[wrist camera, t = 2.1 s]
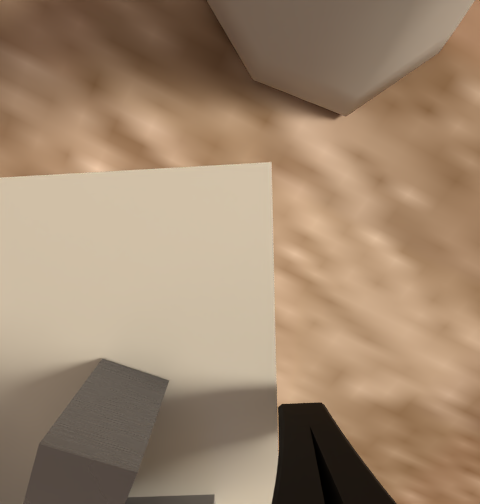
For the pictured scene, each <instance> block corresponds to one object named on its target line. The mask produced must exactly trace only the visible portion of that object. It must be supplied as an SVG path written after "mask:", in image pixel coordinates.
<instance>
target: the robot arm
mask: <svg viewBox="0 0 480 504" xmlns="http://www.w3.org/2000/svg"><path fill="white" fill-rule="evenodd" d="M278 413H279V456H278V465H277V474H276V481H275V487H274V493H273V498H272V504H396V502H395V501H394V500H393V499H392V498H391V496H390V495H389V494H388V493H387V491H386V490H385V489H384V488H383V486H382V485H381V484H380V483H379V481H378V480H377V479H376V478H375V476H374V475H373V474H372V472H371V471H370V470H369V468H368V467H367V466H366V464H365V463H364V462H363V461H362V459H361V458H360V457H359V455H358V454H357V452H356V451H355V450H354V448H353V447H352V446H351V444H350V443H349V441H348V440H347V439H346V437H345V436H344V434H343V433H342V431H341V430H340V428H339V427H338V425H337V424H336V422H335V421H334V419H333V418H332V416H331V415H330V413H329V412H328V410H327V408H326V407H325V405H324V404H322V403H298V404H282V405H280V406H279V407H278Z"/></svg>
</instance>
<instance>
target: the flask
mask: <svg viewBox="0 0 480 504" xmlns="http://www.w3.org/2000/svg"><path fill="white" fill-rule="evenodd" d="M474 1H475V0H207V2H208V4H209V5H210V7H211V9H212V10H213V12H214V14H215V16H216V17H217V19H218V21H219V22H220V24H221V26H222V28H223V29H224V31H225V33H226V34H227V36H228V38H229V40H230V41H231V43H232V45H233V46H234V48H235V50H236V52H237V53H238V55H239V57H240V58H241V60H242V62H243V64H244V65H245V67H246V69H247V70H248V72H249V74H250V76H251V77H252V79H253V80H255V81H257V82H260V83H262V84H265V85H267V86H270V87H272V88H275V89H277V90H280V91H283V92H285V93H288V94H290V95H293V96H295V97H298V98H300V99H303V100H305V101H308V102H310V103H313V104H315V105H318V106H320V107H323V108H326V109H328V110H331V111H333V112H336V113H338V114H341V115H343V116H347V115H349V114H350V113H352V112H353V111H355V110H356V109H357V108H359V107H360V106H362V105H363V104H365V103H366V102H368V101H369V100H371V99H372V98H373V97H375V96H376V95H378V94H379V93H381V92H382V91H384V90H385V89H387V88H388V87H390V86H391V85H392V84H394V83H395V82H397V81H398V80H400V79H401V78H403V77H404V76H406V75H407V74H408V73H410V72H411V71H413V70H414V69H416V68H417V67H419V66H420V65H422V64H423V63H425V62H426V61H427V60H429V59H430V58H432V57H433V56H435V55H436V54H438V53H439V52H440V50H441V49H442V48H443V46H444V45H445V43H446V42H447V41H448V39H449V38H450V36H451V35H452V34H453V32H454V31H455V29H456V28H457V26H458V25H459V23H460V22H461V20H462V19H463V17H464V16H465V14H466V13H467V11H468V10H469V8H470V7H471V5H472V4H473V2H474Z"/></svg>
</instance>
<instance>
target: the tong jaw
mask: <svg viewBox="0 0 480 504" xmlns="http://www.w3.org/2000/svg"><path fill="white" fill-rule="evenodd" d="M168 383H169V380H166V379H163V378H160V377H157V376H154V375H151V374H148V373H145V372H142V371H139V370H136V369H133V368H130V367H127V366H124V365H121V364H118V363H115V362H111V361H108V360H105V359H102V360H101V361H100V362H99V364H98V365H97V366H96V368H95V369H94V370H93V372H92V373H91V374H90V376H89V377H88V378H87V380H86V381H85V383H84V384H83V385H82V387H81V388H80V389H79V391H78V392H77V393H76V395H75V396H74V397H73V399H72V400H71V401H70V403H69V404H68V405H67V407H66V408H65V409H64V411H63V412H62V413H61V415H60V416H59V417H58V419H57V420H56V422H55V423H54V424H53V426H52V427H51V428H50V430H49V431H48V432H47V434H46V435H45V436H44V438H43V439H42V440H41V442H40V443H39V446H38V449H37V453H36V457H35V461H34V465H33V468H32V472H31V476H30V480H29V483H28V487H27V491H26V495H25V499H24V502H23V504H125V502H126V500H127V498H128V495H129V493H130V490H131V488H132V485H133V483H134V480H135V478H136V475H137V473H138V470H139V467H140V464H141V461H142V458H143V455H144V453H145V450H146V447H147V444H148V441H149V438H150V435H151V432H152V429H153V426H154V423H155V421H156V418H157V415H158V412H159V409H160V406H161V403H162V400H163V397H164V394H165V392H166V389H167V386H168Z"/></svg>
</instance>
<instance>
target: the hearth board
mask: <svg viewBox="0 0 480 504" xmlns="http://www.w3.org/2000/svg"><path fill="white" fill-rule="evenodd" d="M102 359H105V360H108V361H111V362H115V363H118V364H121V365H124V366H127V367H130V368H133V369H136V370H139V371H142V372H145V373H148V374H151V375H154V376H157V377H160V378H163V379H166V380H169V383H168V386H167V389H166V392H165V394H164V397H163V400H162V403H161V406H160V409H159V412H158V415H157V418H156V421H155V423H154V426H153V429H152V432H151V435H150V438H149V441H148V444H147V447H146V450H145V453H144V455H143V458H142V461H141V464H140V467H139V470H138V473H137V475H136V478H135V480H134V483H133V485H132V488H131V490H130V493H129V495H128V498H127V500H126V502H125V504H272V498H273V493H274V487H275V481H276V474H277V465H278V431H277V386H276V342H275V297H274V252H273V207H272V162H267V163H249V164H232V165H214V166H197V167H179V168H162V169H144V170H126V171H109V172H91V173H74V174H56V175H38V176H21V177H3V178H0V504H23V502H24V499H25V495H26V491H27V487H28V483H29V480H30V476H31V472H32V468H33V465H34V461H35V457H36V453H37V449H38V446H39V443H40V442H41V440H42V439H43V438H44V436H45V435H46V434H47V432H48V431H49V430H50V428H51V427H52V426H53V424H54V423H55V422H56V420H57V419H58V417H59V416H60V415H61V413H62V412H63V411H64V409H65V408H66V407H67V405H68V404H69V403H70V401H71V400H72V399H73V397H74V396H75V395H76V393H77V392H78V391H79V389H80V388H81V387H82V385H83V384H84V383H85V381H86V380H87V378H88V377H89V376H90V374H91V373H92V372H93V370H94V369H95V368H96V366H97V365H98V364H99V362H100V361H101V360H102Z"/></svg>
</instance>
